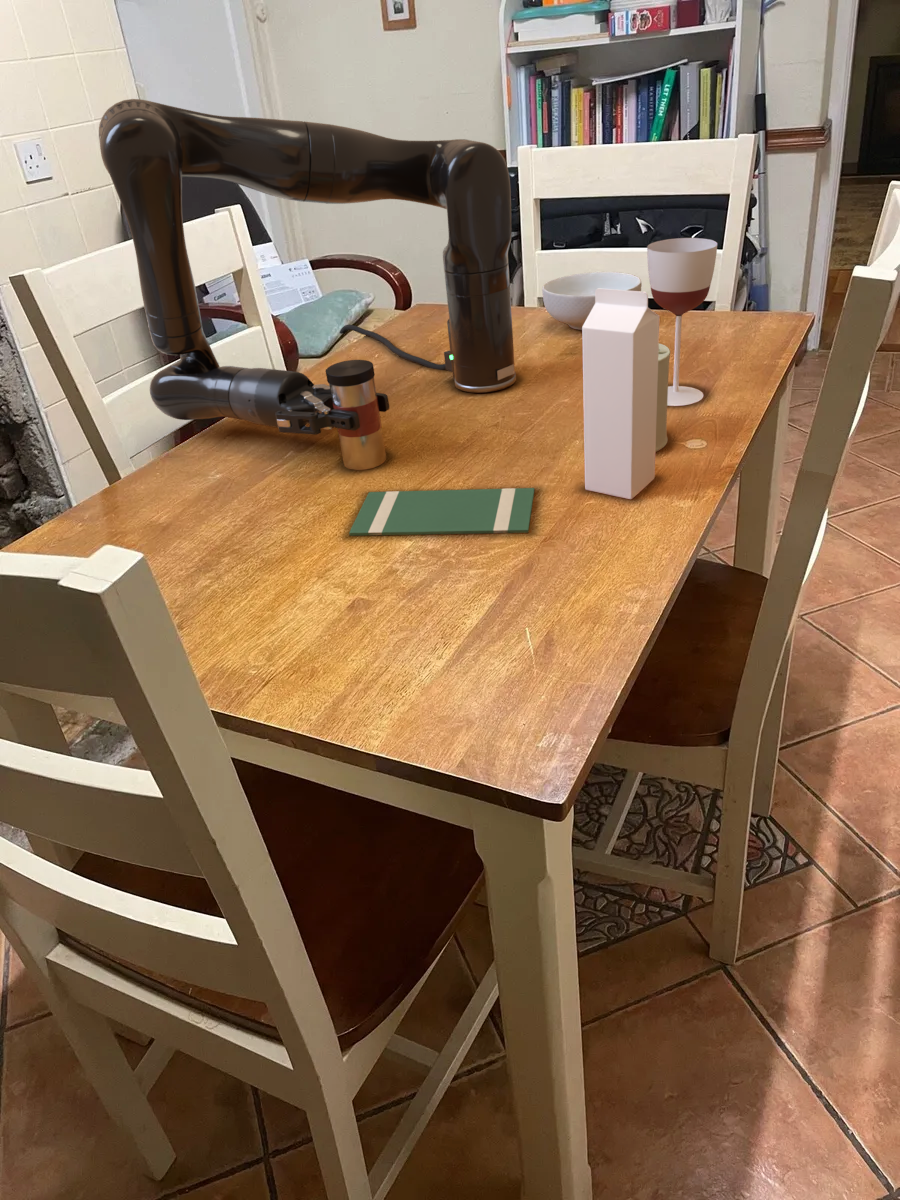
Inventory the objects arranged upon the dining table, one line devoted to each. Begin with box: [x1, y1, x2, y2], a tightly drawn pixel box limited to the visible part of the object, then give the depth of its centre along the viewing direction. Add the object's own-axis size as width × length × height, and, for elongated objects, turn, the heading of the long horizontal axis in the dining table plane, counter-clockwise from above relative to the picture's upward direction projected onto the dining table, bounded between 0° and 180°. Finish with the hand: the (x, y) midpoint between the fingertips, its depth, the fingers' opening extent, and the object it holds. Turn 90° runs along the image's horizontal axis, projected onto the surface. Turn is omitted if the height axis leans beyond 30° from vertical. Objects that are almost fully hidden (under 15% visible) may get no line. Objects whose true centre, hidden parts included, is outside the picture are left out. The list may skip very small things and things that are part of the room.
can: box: [655, 342, 671, 453], centre depth 107 cm, size 9×9×12 cm
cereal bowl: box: [541, 271, 642, 331], centre depth 152 cm, size 17×17×7 cm
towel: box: [348, 487, 536, 537], centre depth 99 cm, size 10×20×1 cm, turn 81°
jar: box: [325, 359, 387, 471], centre depth 111 cm, size 6×6×12 cm
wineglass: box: [646, 237, 718, 407], centre depth 116 cm, size 8×9×20 cm
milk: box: [581, 288, 661, 500], centre depth 95 cm, size 6×6×22 cm
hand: (372, 412), depth 109 cm, fingers closed on jar, 5 cm apart
